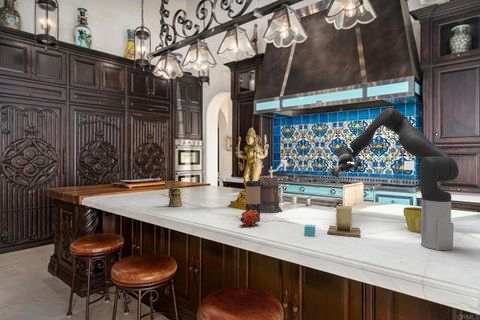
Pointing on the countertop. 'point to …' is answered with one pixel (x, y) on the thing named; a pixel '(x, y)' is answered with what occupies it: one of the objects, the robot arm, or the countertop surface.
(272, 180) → the tankard
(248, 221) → the dragon fruit
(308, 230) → the teal block
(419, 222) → the plant pot
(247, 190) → the travel mug
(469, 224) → the countertop surface
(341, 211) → the brass cover
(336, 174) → the robot arm
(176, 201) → the wooden mug
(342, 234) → the walnut board
